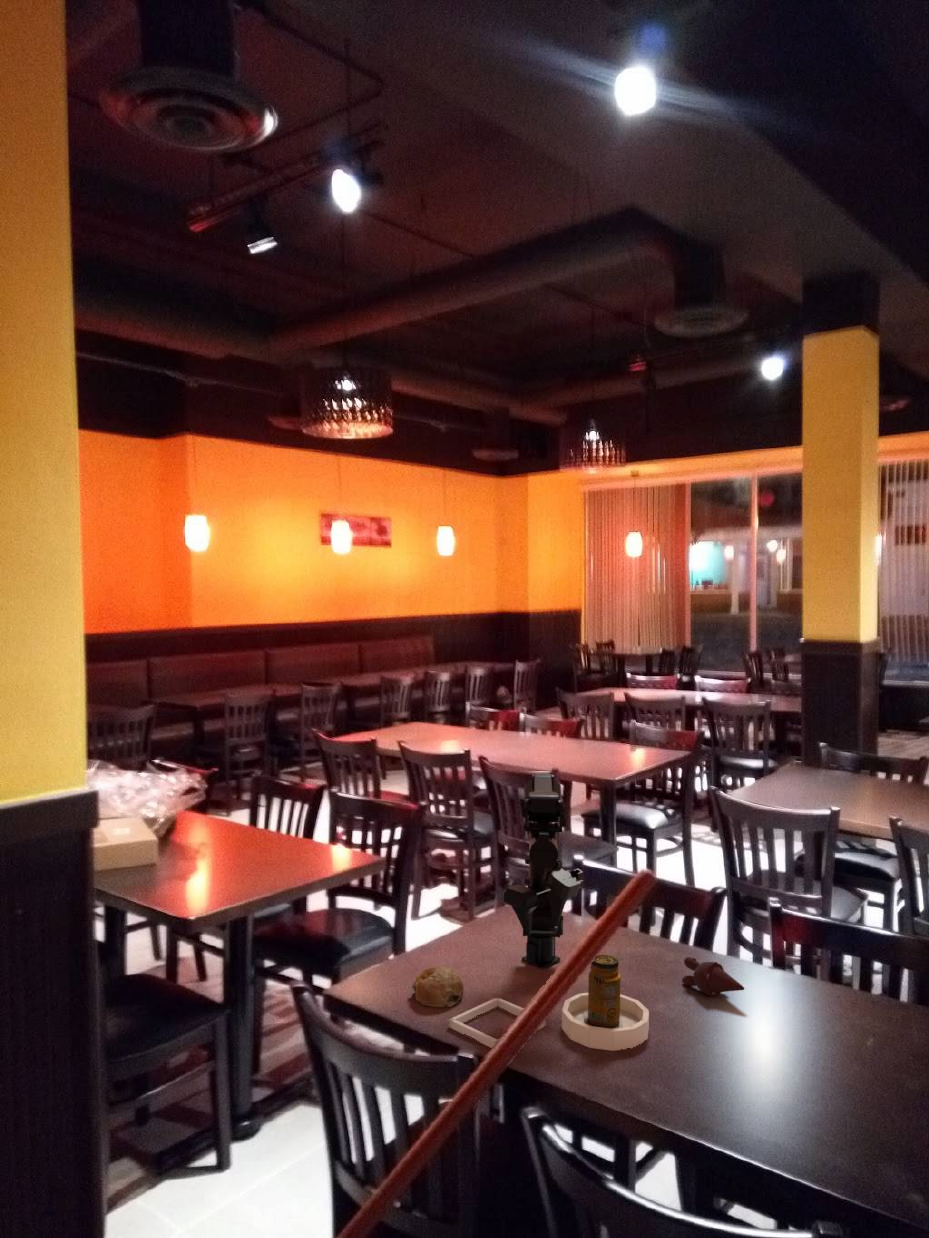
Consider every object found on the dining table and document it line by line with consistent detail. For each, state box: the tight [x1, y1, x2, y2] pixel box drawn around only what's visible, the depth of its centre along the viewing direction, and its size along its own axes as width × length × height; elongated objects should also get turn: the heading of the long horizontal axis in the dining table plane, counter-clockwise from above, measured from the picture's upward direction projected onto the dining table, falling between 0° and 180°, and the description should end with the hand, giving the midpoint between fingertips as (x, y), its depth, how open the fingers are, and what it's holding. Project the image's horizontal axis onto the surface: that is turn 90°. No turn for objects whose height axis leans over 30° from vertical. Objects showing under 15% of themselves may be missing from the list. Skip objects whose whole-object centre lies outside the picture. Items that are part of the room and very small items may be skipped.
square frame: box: [448, 996, 547, 1049], centre depth 170 cm, size 14×13×2 cm
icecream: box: [681, 956, 745, 998], centre depth 185 cm, size 7×7×15 cm
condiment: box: [584, 954, 623, 1029], centre depth 170 cm, size 7×8×12 cm
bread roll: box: [411, 965, 465, 1008], centre depth 182 cm, size 10×10×8 cm
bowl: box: [561, 992, 650, 1052], centre depth 170 cm, size 16×16×4 cm
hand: (542, 928), depth 186 cm, fingers open, 9 cm apart
